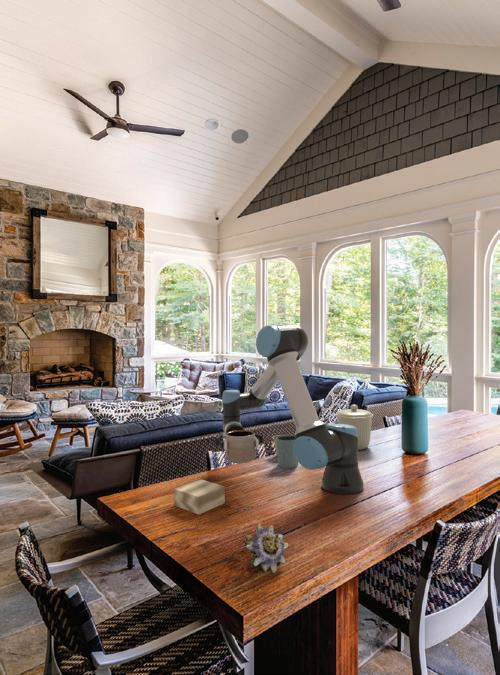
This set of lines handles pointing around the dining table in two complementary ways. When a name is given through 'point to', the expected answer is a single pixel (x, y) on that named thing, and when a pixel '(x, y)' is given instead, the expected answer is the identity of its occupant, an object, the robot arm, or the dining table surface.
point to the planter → (240, 446)
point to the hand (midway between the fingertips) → (241, 445)
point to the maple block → (199, 496)
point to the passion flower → (266, 548)
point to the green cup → (286, 451)
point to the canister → (357, 423)
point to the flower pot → (276, 443)
